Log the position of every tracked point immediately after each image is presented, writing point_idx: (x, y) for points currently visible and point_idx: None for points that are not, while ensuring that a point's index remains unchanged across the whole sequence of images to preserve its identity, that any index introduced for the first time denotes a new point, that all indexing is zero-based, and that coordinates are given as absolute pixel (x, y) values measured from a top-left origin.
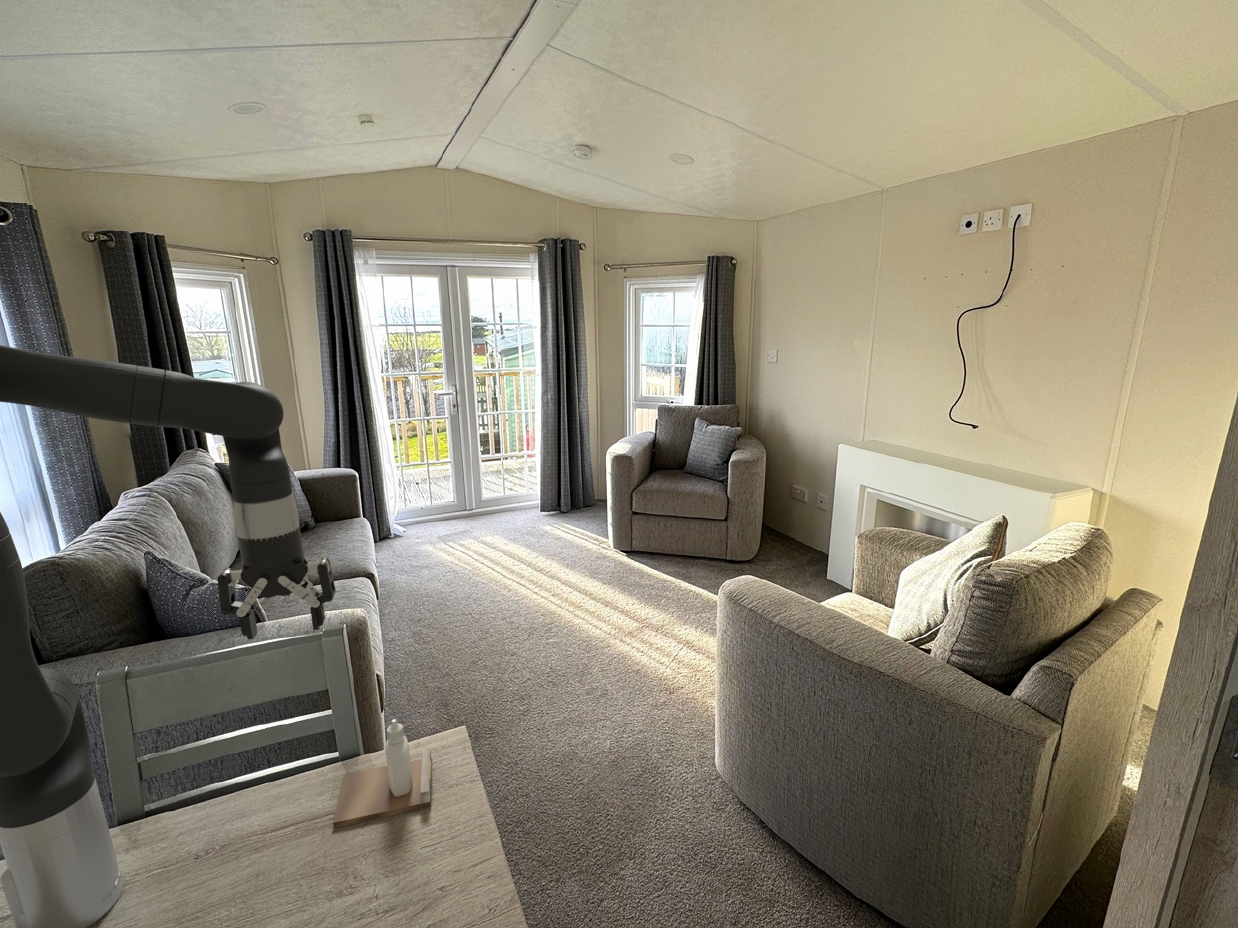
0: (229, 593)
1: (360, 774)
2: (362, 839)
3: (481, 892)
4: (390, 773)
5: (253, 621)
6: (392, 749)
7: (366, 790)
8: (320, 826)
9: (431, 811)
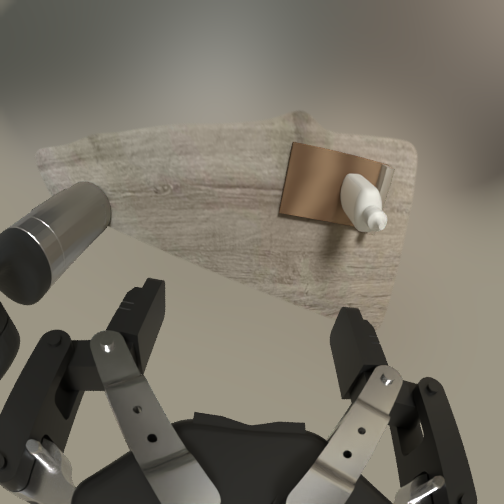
0: (65, 440)
1: (312, 152)
2: (303, 236)
3: (370, 316)
4: (348, 215)
5: (150, 324)
6: (362, 225)
7: (316, 182)
8: (266, 202)
9: None
